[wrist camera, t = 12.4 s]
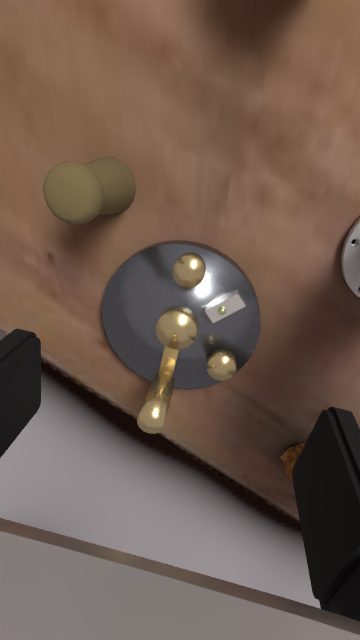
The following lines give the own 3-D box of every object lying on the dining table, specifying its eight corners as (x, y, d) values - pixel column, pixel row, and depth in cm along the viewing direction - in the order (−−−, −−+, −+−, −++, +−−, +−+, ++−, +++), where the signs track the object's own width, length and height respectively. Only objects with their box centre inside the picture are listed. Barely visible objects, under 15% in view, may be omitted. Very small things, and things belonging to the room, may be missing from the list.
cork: (122, 223, 39) (84, 245, 29) (76, 196, 39) (22, 209, 29) (144, 175, 36) (111, 181, 27) (95, 145, 36) (43, 140, 26)
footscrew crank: (162, 301, 40) (144, 338, 32) (202, 312, 40) (194, 351, 32) (146, 378, 46) (126, 426, 38) (181, 388, 46) (169, 438, 37)
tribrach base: (281, 261, 38) (285, 271, 35) (235, 394, 47) (235, 412, 44) (114, 223, 39) (103, 229, 36) (101, 361, 48) (91, 376, 45)
